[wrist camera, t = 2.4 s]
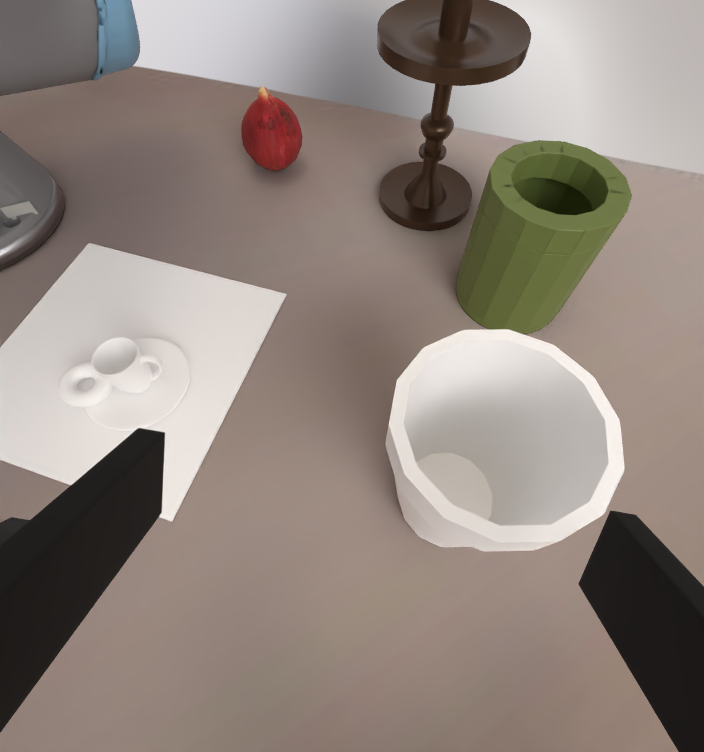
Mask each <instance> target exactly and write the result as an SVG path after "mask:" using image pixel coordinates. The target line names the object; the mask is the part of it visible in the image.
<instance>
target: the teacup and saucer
mask: <svg viewBox="0 0 704 752" xmlns="http://www.w3.org/2000/svg"><path fill="white" fill-rule="evenodd" d="M81 381H83V384H82V389H81V390H80V389H79V388H78V385H79V383H80V382H81ZM190 381H191V367H190V363H189V360H188V358H187V356H186V354H185V353H184V352H183V351H182V350H181V349H180V348H179V347H178V346H177V345H176V344H174V343H172V342H171V341H168V340H166V339H163V338H158V337H138V338H133V339H131V338H129V337H126V336H115V337H111V338H109V339H107V340H105V341H103V342H102V343H101V344H99V345H98V346H97V347H96V349H95V350H94V351H93V353H92V355H91V360H90V361H82V362H79V363H76V364H73V365H71V366H70V367H68V368H67V369H66V370H65V371H64V372H63V373H62V374H61V376H60V377H59V379H58V381H57V385H56V390H57V394H58V396H59V398H60V399H61V400H62V401H63V402H64V403H65V404H67V405H69V406H71V407H74V408H84V410H85V412H86V413H87V415H88V416H89V417H90V418H91V419H92V420H93V421H94V422H95V423H96V424H98V425H99V426H101V427H103V428H106V429H108V430H112V431H120V432H128V431H135V430H136V429H138V428H143V429H145V428H146V427H149V426H151V425H154V424H156V423H157V422H159V421H161V420H162V419H164V418H165V417H167V416H168V415H169V414H170V413H171V412H172V411H173V410H174V409H175V408H176V407H177V406H178V405H179V404H180V402H181V401H182V400H183V398H184V396H185V395H186V393H187V390H188V388H189V385H190ZM145 391H147V392H148V393H147V394H146V395H130V394H140V393H143V392H145Z"/></svg>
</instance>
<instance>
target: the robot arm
mask: <svg viewBox="0 0 704 752" xmlns="http://www.w3.org/2000/svg"><path fill="white" fill-rule="evenodd" d="M139 53H140V41H139V34H138V29H137V24H136V19H135V15H134V10H133V6H132V2H131V0H0V96H3V95H9V94H14V93H20V92H25V91H31V90H37V89H42V88H48V87H53V86H59V85H65V84H70V83H76V82H82V81H87V80H98V79H99V78H101V76H103V75H107V74H110V73H114V72H117V71H121V70H124V69H128V68H130V67H131V66H133V65H134V64H135V62H136V61H137V59H138V57H139ZM63 211H64V197H63V194H62V191H61V190H60V188H59V186H58V185H57V184H56V182H55V181H54V179H53V178H52V176H51V175H50V173H49V172H48V171H47V170H46V169H45V168H44V167H43V166H42V165H41V164H40V163H38V162H37V161H36V160H35V159H33V158H32V157H31V156H30V155H29V154H27V153H26V152H25V151H24V150H23V149H21V148H20V147H19V146H18V145H16V144H15V143H14V142H13V141H12V140H10V139H9V138H8V137H7V136H5V135H4V134H3V133H2V132H1V131H0V270H1V269H3V268H6V267H8V266H10V265H12V264H14V263H16V262H18V261H19V260H21V259H23V258H24V257H26V256H27V255H29V254H30V253H32V252H33V251H34V250H36V249H37V248H38V247H39V246H40V245H42V244H43V243H44V242H45V241H46V240H47V239H48V238H49V237H50V235H51V234H52V233H53V232H54V230H55V229H56V227H57V226H58V224H59V222H60V220H61V218H62V215H63ZM164 448H165V432H160V431H154V430H148V429H143V428H138V429H136V430H135V431H134V432H133V433H132V434H131V435H129V436H128V437H127V438H126V439H125V440H124V441H122V442H121V443H120V444H119V445H118V446H117V447H115V448H114V449H113V450H112V451H111V452H110V453H108V454H107V455H106V456H105V457H104V458H103V459H101V460H100V461H99V462H98V463H97V464H96V465H94V466H93V467H92V468H91V469H90V470H88V471H87V472H86V473H85V474H84V475H83V476H81V477H80V478H79V479H78V480H77V481H76V482H74V483H73V484H72V485H71V486H70V487H69V488H67V489H66V490H65V491H64V492H63V493H62V494H60V495H59V496H58V497H57V498H56V499H55V500H53V501H52V502H51V503H50V504H49V505H48V506H46V507H45V508H44V509H43V510H42V511H41V512H39V513H38V514H37V515H36V516H35V517H33V518H32V519H31V520H24V519H18V518H9V519H7V520H5V521H3V522H1V523H0V732H1V731H2V730H3V728H4V727H5V725H6V724H7V723H8V721H9V720H10V719H11V717H12V716H13V715H14V713H15V712H16V711H17V709H18V708H19V706H20V705H21V704H22V702H23V701H24V700H25V698H26V697H27V696H28V694H29V693H30V691H31V690H32V689H33V687H34V686H35V685H36V683H37V682H38V681H39V679H40V678H41V676H42V675H43V674H44V672H45V671H46V670H47V668H48V667H49V666H50V664H51V663H52V661H53V660H54V659H55V657H56V656H57V655H58V653H59V652H60V651H61V649H62V648H63V646H64V645H65V644H66V642H67V641H68V640H69V638H70V637H71V636H72V634H73V633H74V631H75V630H76V629H77V627H78V626H79V625H80V623H81V622H82V621H83V619H84V618H85V617H86V615H87V614H88V612H89V611H90V610H91V608H92V607H93V606H94V604H95V603H96V602H97V600H98V599H99V597H100V596H101V595H102V593H103V592H104V591H105V589H106V588H107V587H108V585H109V584H110V582H111V581H112V580H113V578H114V577H115V576H116V574H117V573H118V572H119V570H120V569H121V567H122V566H123V565H124V563H125V562H126V561H127V559H128V558H129V557H130V555H131V554H132V552H133V551H134V550H135V548H136V547H137V546H138V544H139V543H140V542H141V540H142V539H143V537H144V536H145V535H146V533H147V532H148V531H149V529H150V528H151V527H152V525H153V524H154V523H155V521H156V520H157V518H158V517H159V516H160V514H161V513H162V494H163V471H164ZM579 586H580V587H581V589H582V591H583V592H584V594H585V596H586V597H587V599H588V601H589V602H590V604H591V606H592V607H593V609H594V611H595V612H596V614H597V616H598V618H599V619H600V621H601V623H602V624H603V626H604V628H605V629H606V631H607V633H608V634H609V636H610V638H611V639H612V641H613V643H614V644H615V646H616V648H617V649H618V651H619V653H620V654H621V656H622V658H623V659H624V661H625V663H626V664H627V666H628V668H629V669H630V671H631V673H632V674H633V676H634V678H635V679H636V681H637V683H638V684H639V686H640V688H641V689H642V691H643V693H644V694H645V696H646V698H647V699H648V701H649V703H650V704H651V706H652V708H653V709H654V711H655V713H656V715H657V716H658V718H659V720H660V721H661V723H662V725H663V726H664V728H665V730H666V731H667V733H668V735H669V736H670V738H671V740H672V741H673V743H674V745H675V746H676V748H677V750H678V751H679V752H704V586H703V585H702V584H701V583H700V582H699V581H698V580H697V579H696V578H695V577H694V576H693V575H692V574H691V573H690V572H689V571H688V570H687V568H686V567H685V566H684V565H683V564H682V563H681V562H680V561H679V560H678V559H677V558H676V557H675V556H674V555H673V554H672V553H671V552H670V550H669V549H668V548H667V547H666V546H665V545H664V544H663V543H662V542H661V541H660V540H659V539H658V538H657V537H656V536H655V535H654V534H653V533H652V531H651V530H650V529H649V528H648V527H647V526H646V525H645V524H644V523H643V522H642V521H641V520H640V519H639V518H638V517H637V516H636V515H633V514H627V513H621V512H616V511H610V513H609V515H608V518H607V520H606V522H605V525H604V527H603V529H602V531H601V534H600V536H599V538H598V541H597V543H596V545H595V547H594V550H593V552H592V554H591V557H590V559H589V561H588V563H587V566H586V568H585V570H584V573H583V575H582V577H581V579H580V582H579Z"/></svg>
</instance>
